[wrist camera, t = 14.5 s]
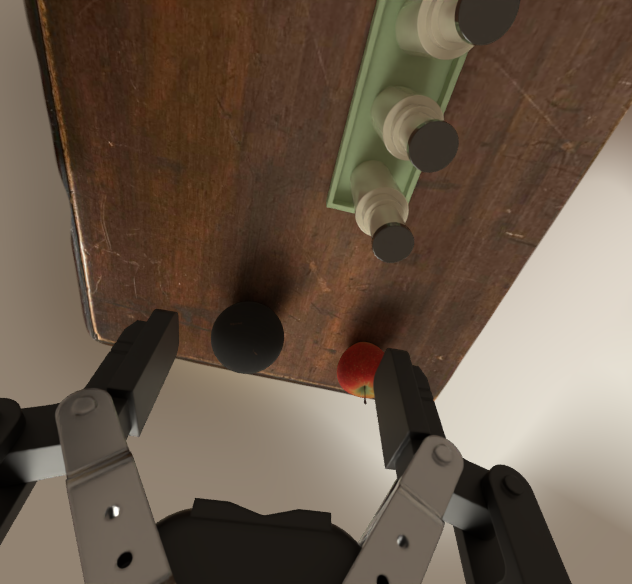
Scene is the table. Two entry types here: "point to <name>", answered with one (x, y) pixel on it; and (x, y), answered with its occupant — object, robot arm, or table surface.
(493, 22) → the bottle
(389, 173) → the bottle
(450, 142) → the bottle
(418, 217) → the table surface
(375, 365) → the apple
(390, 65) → the tray
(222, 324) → the black ball
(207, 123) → the table surface
